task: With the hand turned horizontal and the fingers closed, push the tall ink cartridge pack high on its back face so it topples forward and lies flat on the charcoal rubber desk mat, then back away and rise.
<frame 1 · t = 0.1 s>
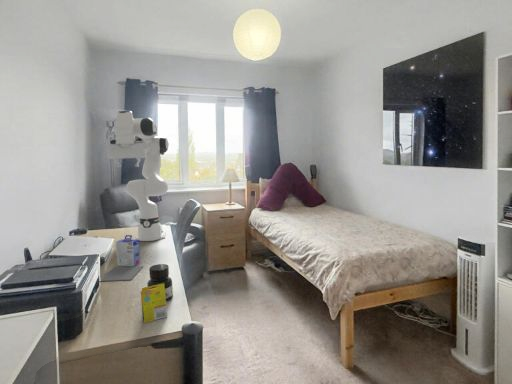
hand: (128, 166, 169), 48 cm above the table, tool pointing down, fingers open, 8 cm apart
ink cartridge box: (129, 264, 156), on the table
desk mat: (122, 273, 143), on the table
crayon box: (155, 318, 102), on the table
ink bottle: (160, 298, 117), on the table
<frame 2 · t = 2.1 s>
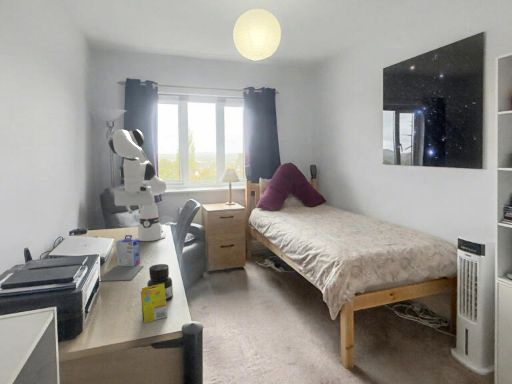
hand: (135, 213, 167), 23 cm above the table, tool pointing down, fingers open, 4 cm apart
nothing on the table moved.
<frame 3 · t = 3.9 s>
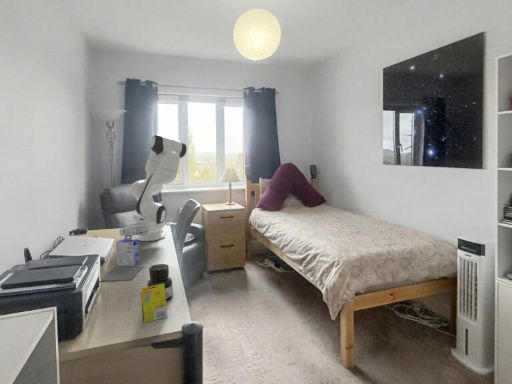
hand: (127, 231, 165), 14 cm above the table, tool horizontal, fingers closed
nothing on the table moved.
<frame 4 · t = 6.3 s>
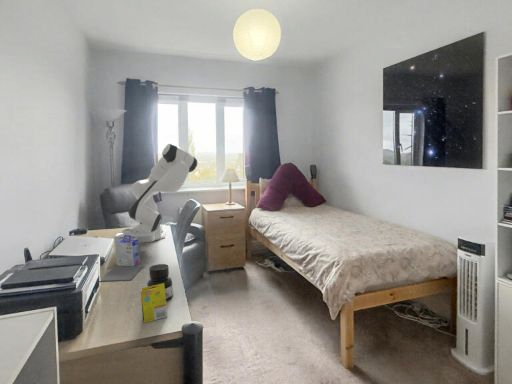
hand: (129, 241, 157), 11 cm above the table, tool horizontal, fingers closed
ink cartridge box: (129, 264, 156), on the table, touching gripper
everything else where it was.
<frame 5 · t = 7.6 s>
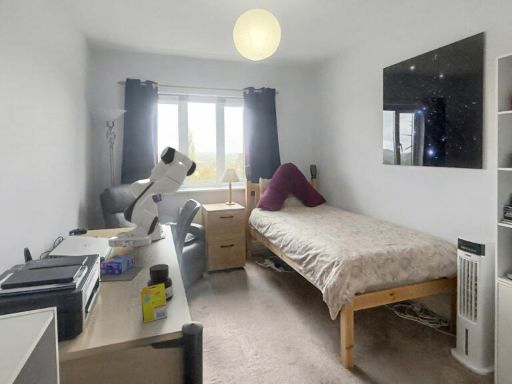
hand: (124, 245, 150), 11 cm above the table, tool horizontal, fingers closed
ink cartridge box: (125, 259, 153), point 3 cm above the table, touching desk mat
everything else where it was.
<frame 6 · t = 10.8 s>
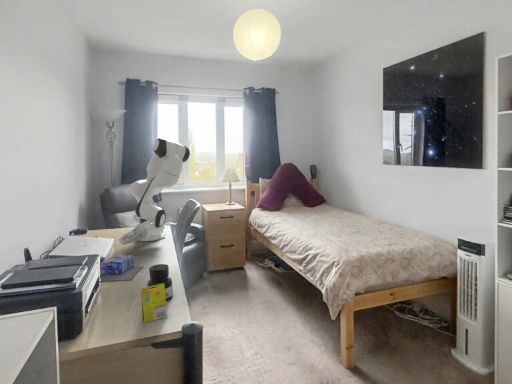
hand: (125, 235, 164), 12 cm above the table, tool horizontal, fingers closed
nothing on the table moved.
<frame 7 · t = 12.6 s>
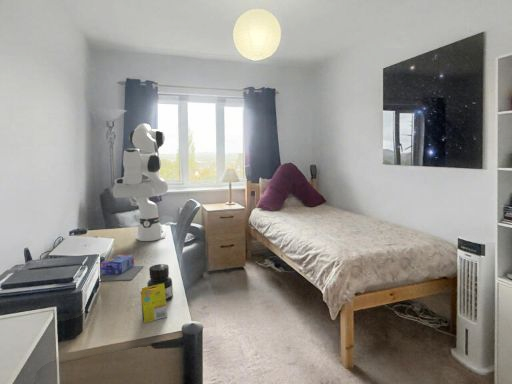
hand: (134, 205, 165), 28 cm above the table, tool pointing down, fingers closed
nothing on the table moved.
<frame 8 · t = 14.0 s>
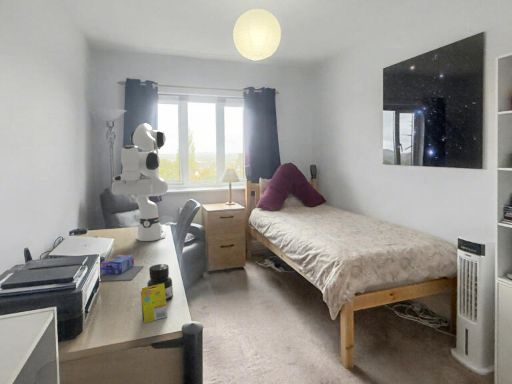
hand: (133, 203, 164), 29 cm above the table, tool pointing down, fingers closed
nothing on the table moved.
at the end: ink cartridge box tilted 92°; ink cartridge box inside the target area (9.6 cm from its centre), point 3.3 cm above the table; the gripper is holding nothing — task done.
